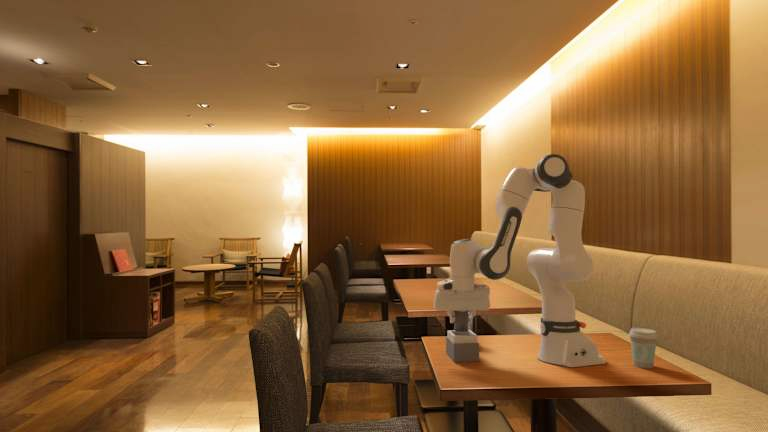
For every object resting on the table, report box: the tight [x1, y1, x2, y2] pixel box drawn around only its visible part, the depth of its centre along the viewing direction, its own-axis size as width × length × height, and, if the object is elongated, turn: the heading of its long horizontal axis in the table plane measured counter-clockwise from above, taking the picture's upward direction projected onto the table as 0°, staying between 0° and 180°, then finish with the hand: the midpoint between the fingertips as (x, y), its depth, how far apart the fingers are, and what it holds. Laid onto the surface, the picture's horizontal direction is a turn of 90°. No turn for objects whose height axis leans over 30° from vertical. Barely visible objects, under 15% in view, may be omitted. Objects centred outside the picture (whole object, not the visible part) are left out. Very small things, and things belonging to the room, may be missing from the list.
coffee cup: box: [628, 327, 659, 369], centre depth 158 cm, size 9×8×12 cm
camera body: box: [445, 329, 480, 363], centre depth 168 cm, size 9×11×8 cm
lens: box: [453, 309, 470, 332], centre depth 168 cm, size 5×5×8 cm
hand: (461, 322), depth 168 cm, fingers closed on lens, 5 cm apart
